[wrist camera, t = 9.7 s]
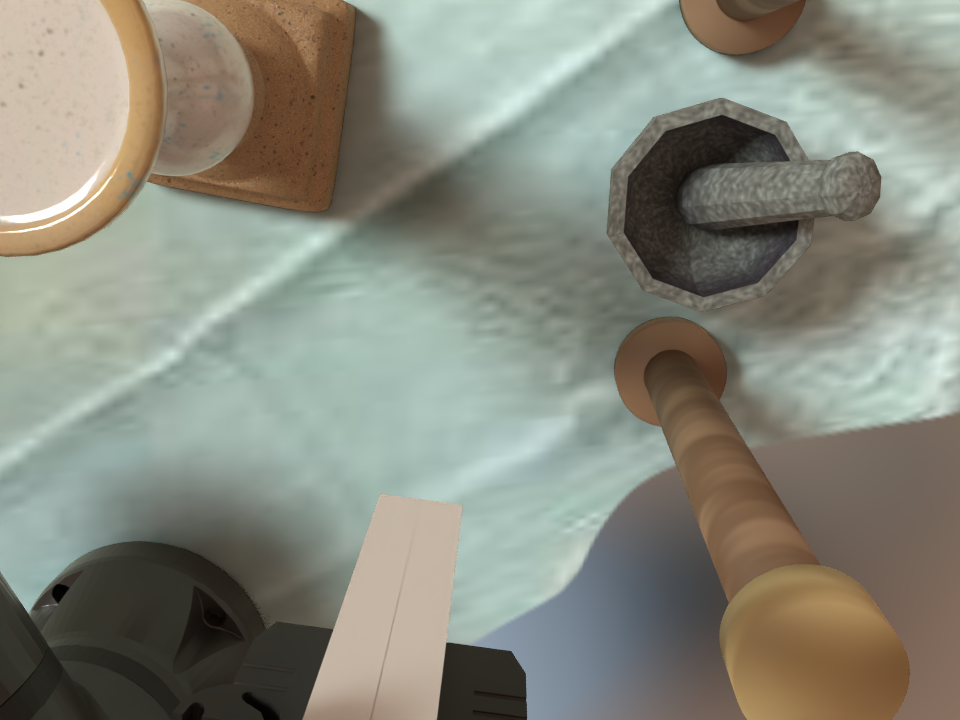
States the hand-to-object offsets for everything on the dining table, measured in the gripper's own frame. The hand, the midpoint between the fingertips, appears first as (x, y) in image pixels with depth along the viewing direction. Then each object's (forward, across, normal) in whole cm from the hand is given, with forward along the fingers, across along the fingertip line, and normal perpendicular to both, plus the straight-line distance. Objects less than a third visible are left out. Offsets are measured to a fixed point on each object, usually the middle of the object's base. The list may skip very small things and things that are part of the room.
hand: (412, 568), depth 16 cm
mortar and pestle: (+35, -11, -6) cm, 37 cm away
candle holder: (+35, +14, -8) cm, 39 cm away
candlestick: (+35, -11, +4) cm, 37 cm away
